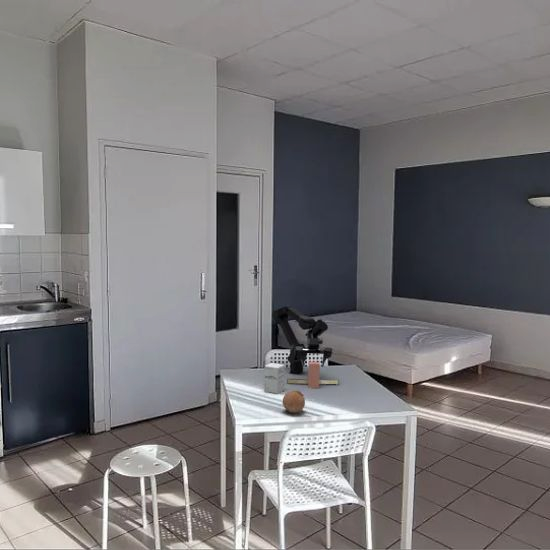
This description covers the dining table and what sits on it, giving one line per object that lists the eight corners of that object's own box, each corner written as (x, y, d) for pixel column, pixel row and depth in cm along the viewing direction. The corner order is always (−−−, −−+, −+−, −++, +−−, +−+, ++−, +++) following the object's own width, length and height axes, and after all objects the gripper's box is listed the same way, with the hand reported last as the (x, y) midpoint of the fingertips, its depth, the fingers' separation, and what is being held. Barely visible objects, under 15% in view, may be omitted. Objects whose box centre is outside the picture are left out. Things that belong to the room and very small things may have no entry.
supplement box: (263, 391, 244) (264, 365, 243) (270, 387, 251) (271, 362, 250) (277, 394, 241) (277, 367, 240) (284, 390, 247) (285, 364, 246)
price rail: (286, 382, 260) (287, 378, 260) (338, 383, 260) (338, 379, 260) (287, 384, 258) (287, 379, 257) (338, 385, 258) (339, 380, 257)
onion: (298, 416, 221) (307, 394, 223) (300, 418, 212) (309, 395, 214) (278, 407, 221) (287, 385, 223) (279, 409, 212) (288, 386, 214)
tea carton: (308, 385, 256) (308, 361, 255) (318, 385, 256) (318, 362, 255) (308, 387, 252) (309, 363, 251) (318, 388, 252) (319, 364, 251)
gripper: (295, 330, 259) (295, 357, 249) (332, 331, 259) (334, 358, 249) (294, 342, 267) (294, 369, 257) (330, 343, 267) (331, 370, 257)
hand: (313, 366), depth 255 cm, fingers open, 9 cm apart
